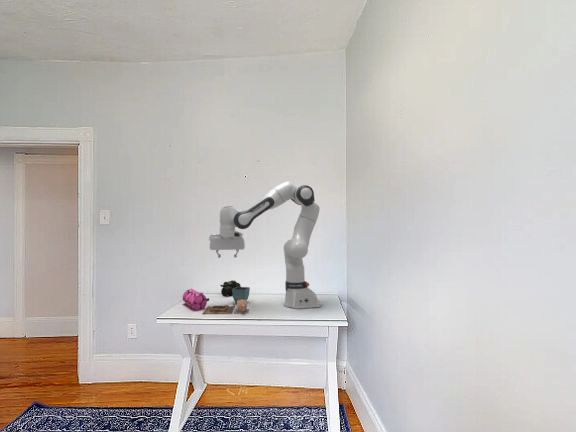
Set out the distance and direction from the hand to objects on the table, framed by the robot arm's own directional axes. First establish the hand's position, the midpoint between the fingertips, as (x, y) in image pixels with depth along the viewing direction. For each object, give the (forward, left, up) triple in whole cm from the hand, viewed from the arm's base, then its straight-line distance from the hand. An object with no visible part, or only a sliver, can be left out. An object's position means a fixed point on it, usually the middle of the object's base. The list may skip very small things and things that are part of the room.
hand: (227, 257), depth 204 cm
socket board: (+4, +6, -29) cm, 30 cm away
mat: (-9, +10, -29) cm, 32 cm away
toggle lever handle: (-9, +11, -29) cm, 32 cm away
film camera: (+2, -33, -30) cm, 44 cm away
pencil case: (+20, -4, -30) cm, 36 cm away
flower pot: (-7, -11, -29) cm, 32 cm away
